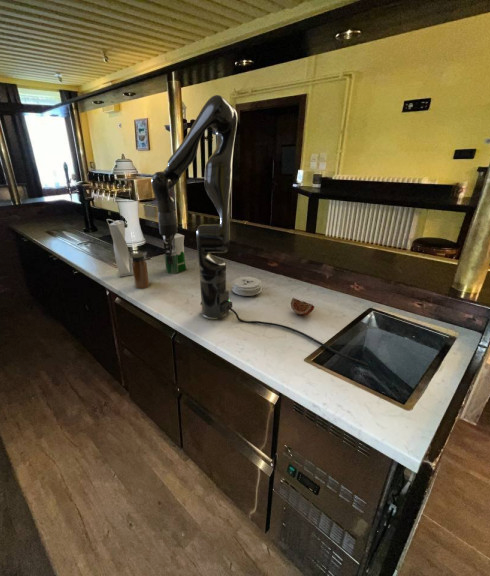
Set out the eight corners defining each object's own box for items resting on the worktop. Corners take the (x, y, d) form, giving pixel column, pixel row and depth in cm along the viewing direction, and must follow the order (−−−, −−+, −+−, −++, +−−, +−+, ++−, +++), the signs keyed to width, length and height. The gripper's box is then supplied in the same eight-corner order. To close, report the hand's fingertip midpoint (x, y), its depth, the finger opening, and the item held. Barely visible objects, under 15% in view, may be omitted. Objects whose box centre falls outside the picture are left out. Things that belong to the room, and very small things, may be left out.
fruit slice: (286, 311, 111) (287, 299, 109) (297, 305, 115) (298, 294, 113) (306, 320, 105) (307, 308, 103) (317, 314, 109) (318, 301, 106)
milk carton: (178, 265, 160) (175, 228, 152) (188, 269, 154) (186, 231, 146) (164, 270, 155) (160, 231, 147) (175, 274, 149) (171, 234, 140)
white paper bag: (117, 277, 148) (106, 221, 137) (116, 272, 155) (106, 217, 144) (134, 274, 151) (125, 218, 139) (132, 269, 158) (124, 215, 146)
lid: (238, 283, 136) (238, 273, 134) (265, 287, 131) (266, 276, 129) (227, 294, 126) (227, 284, 124) (256, 299, 121) (257, 288, 118)
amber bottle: (152, 284, 139) (148, 254, 133) (142, 289, 134) (137, 258, 128) (142, 281, 142) (138, 252, 136) (132, 286, 138) (127, 256, 132)
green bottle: (180, 270, 134) (179, 250, 130) (173, 274, 130) (171, 253, 126) (171, 268, 137) (169, 248, 133) (163, 272, 133) (161, 252, 129)
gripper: (161, 219, 132) (165, 256, 138) (155, 226, 118) (159, 267, 125) (178, 218, 131) (181, 255, 138) (174, 226, 118) (177, 266, 125)
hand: (171, 261), depth 132 cm, fingers closed on green bottle, 5 cm apart
